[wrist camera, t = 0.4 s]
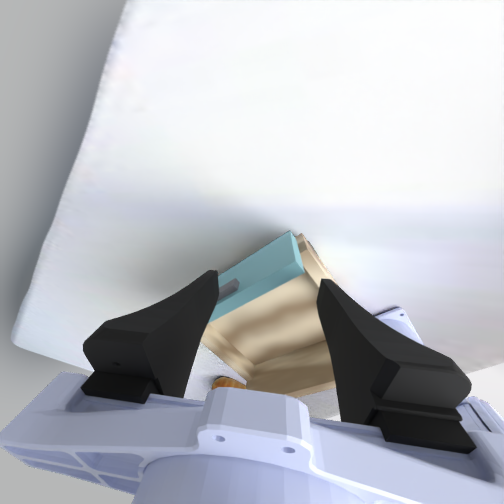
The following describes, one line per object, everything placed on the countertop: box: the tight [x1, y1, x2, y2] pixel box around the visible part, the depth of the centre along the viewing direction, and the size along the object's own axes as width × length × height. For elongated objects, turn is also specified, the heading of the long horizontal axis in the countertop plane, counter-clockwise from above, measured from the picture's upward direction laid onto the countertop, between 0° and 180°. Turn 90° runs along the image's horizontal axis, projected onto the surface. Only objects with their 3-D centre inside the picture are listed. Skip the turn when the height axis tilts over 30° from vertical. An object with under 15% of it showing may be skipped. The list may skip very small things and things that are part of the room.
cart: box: [200, 233, 337, 398], centre depth 23 cm, size 15×18×8 cm
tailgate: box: [208, 231, 305, 323], centre depth 19 cm, size 2×17×6 cm, turn 128°
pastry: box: [212, 377, 246, 390], centre depth 37 cm, size 9×7×4 cm
